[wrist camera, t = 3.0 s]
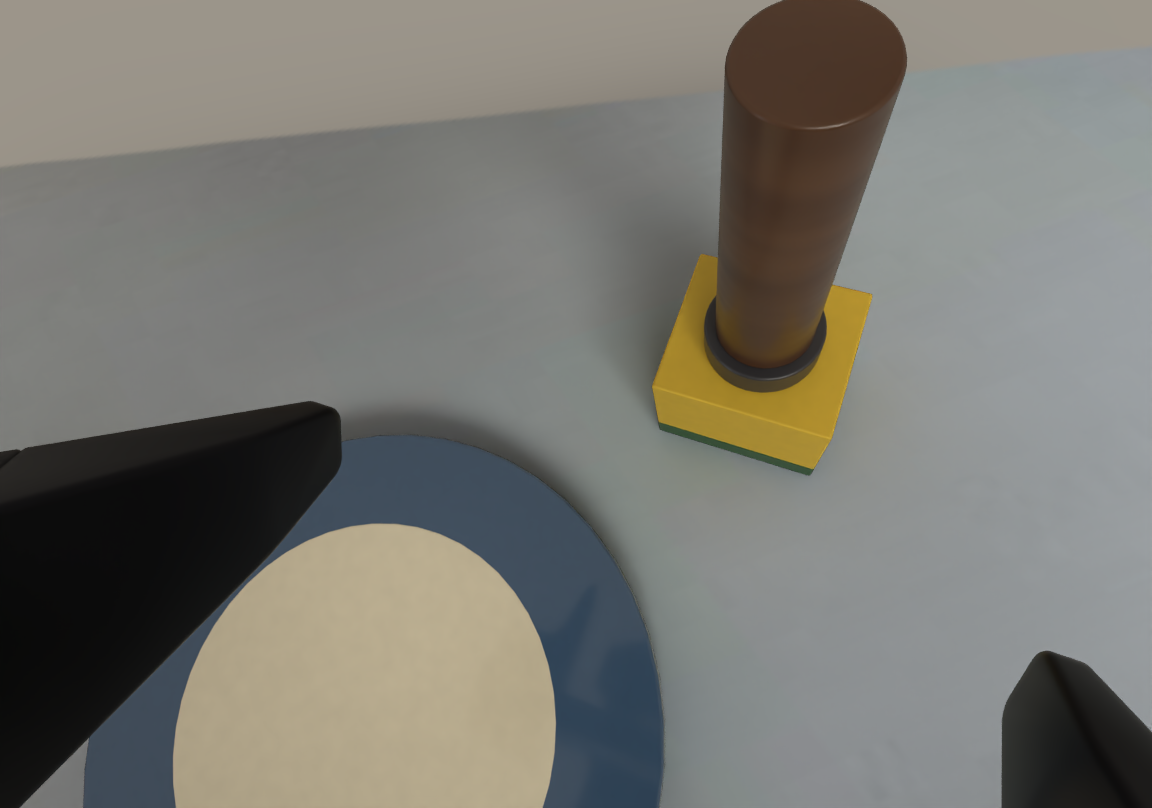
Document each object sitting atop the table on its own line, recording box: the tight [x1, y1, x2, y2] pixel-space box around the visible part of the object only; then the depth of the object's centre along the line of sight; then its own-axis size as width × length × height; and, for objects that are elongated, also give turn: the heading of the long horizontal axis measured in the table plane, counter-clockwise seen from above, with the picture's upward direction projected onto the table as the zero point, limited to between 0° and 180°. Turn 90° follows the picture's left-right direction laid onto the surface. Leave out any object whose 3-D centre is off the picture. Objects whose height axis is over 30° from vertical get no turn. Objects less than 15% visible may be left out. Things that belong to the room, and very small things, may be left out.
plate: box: [83, 435, 665, 808], centre depth 21 cm, size 18×18×1 cm
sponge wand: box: [652, 0, 907, 475], centre depth 17 cm, size 4×5×14 cm
